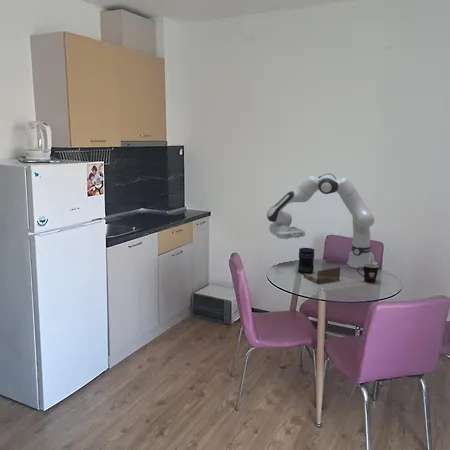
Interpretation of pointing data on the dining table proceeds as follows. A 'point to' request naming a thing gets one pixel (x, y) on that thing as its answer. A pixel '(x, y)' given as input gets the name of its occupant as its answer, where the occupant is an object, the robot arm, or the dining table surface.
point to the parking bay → (325, 275)
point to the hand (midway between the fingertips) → (297, 236)
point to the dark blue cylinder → (306, 260)
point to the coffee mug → (369, 272)
